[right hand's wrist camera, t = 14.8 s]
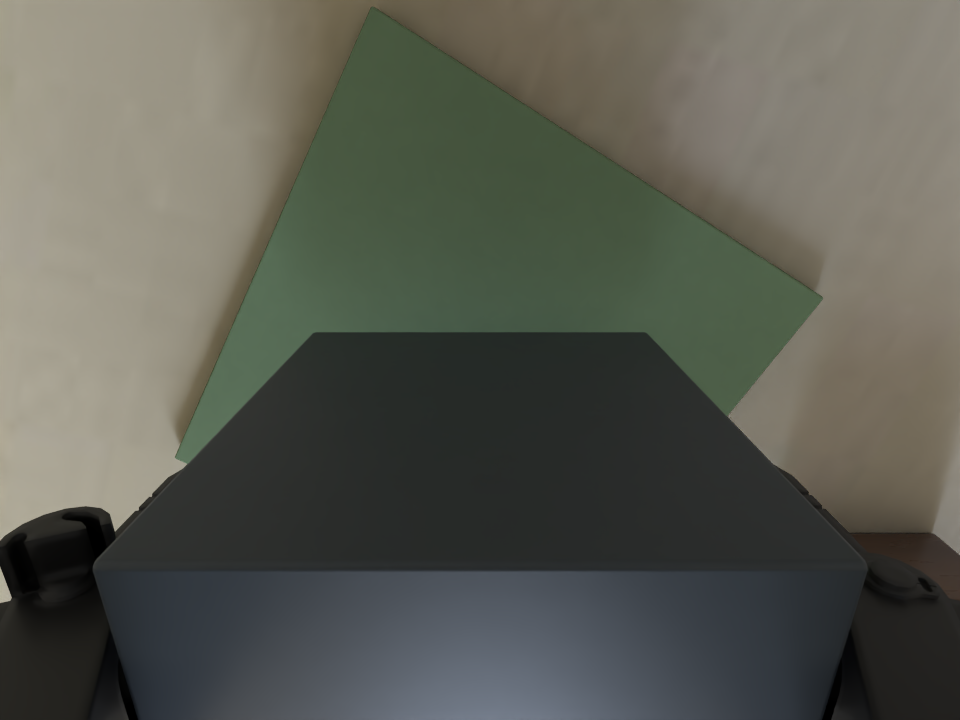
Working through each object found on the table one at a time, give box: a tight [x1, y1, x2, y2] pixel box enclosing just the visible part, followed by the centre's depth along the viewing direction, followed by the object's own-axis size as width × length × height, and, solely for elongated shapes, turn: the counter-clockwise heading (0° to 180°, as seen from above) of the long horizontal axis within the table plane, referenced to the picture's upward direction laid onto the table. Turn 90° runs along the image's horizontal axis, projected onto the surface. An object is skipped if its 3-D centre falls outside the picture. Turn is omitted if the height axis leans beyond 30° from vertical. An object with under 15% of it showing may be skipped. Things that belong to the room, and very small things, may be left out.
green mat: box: [175, 7, 823, 464], centre depth 16 cm, size 14×14×1 cm
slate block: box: [93, 332, 868, 720], centre depth 10 cm, size 5×8×8 cm, turn 90°
